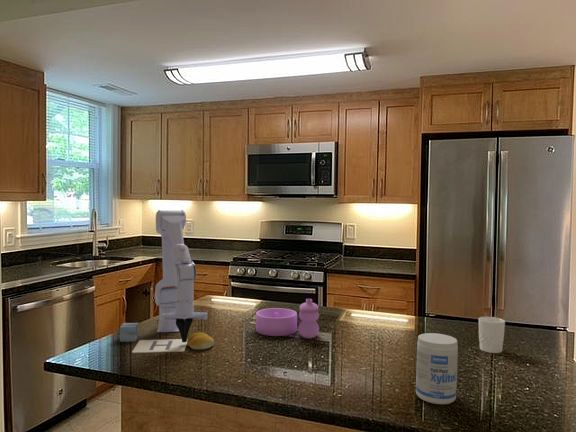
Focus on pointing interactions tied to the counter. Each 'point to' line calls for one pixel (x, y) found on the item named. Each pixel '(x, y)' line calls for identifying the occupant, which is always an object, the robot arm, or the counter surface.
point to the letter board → (160, 346)
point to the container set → (288, 321)
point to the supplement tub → (436, 368)
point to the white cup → (491, 334)
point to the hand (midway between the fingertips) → (184, 341)
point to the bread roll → (200, 341)
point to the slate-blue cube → (128, 332)
